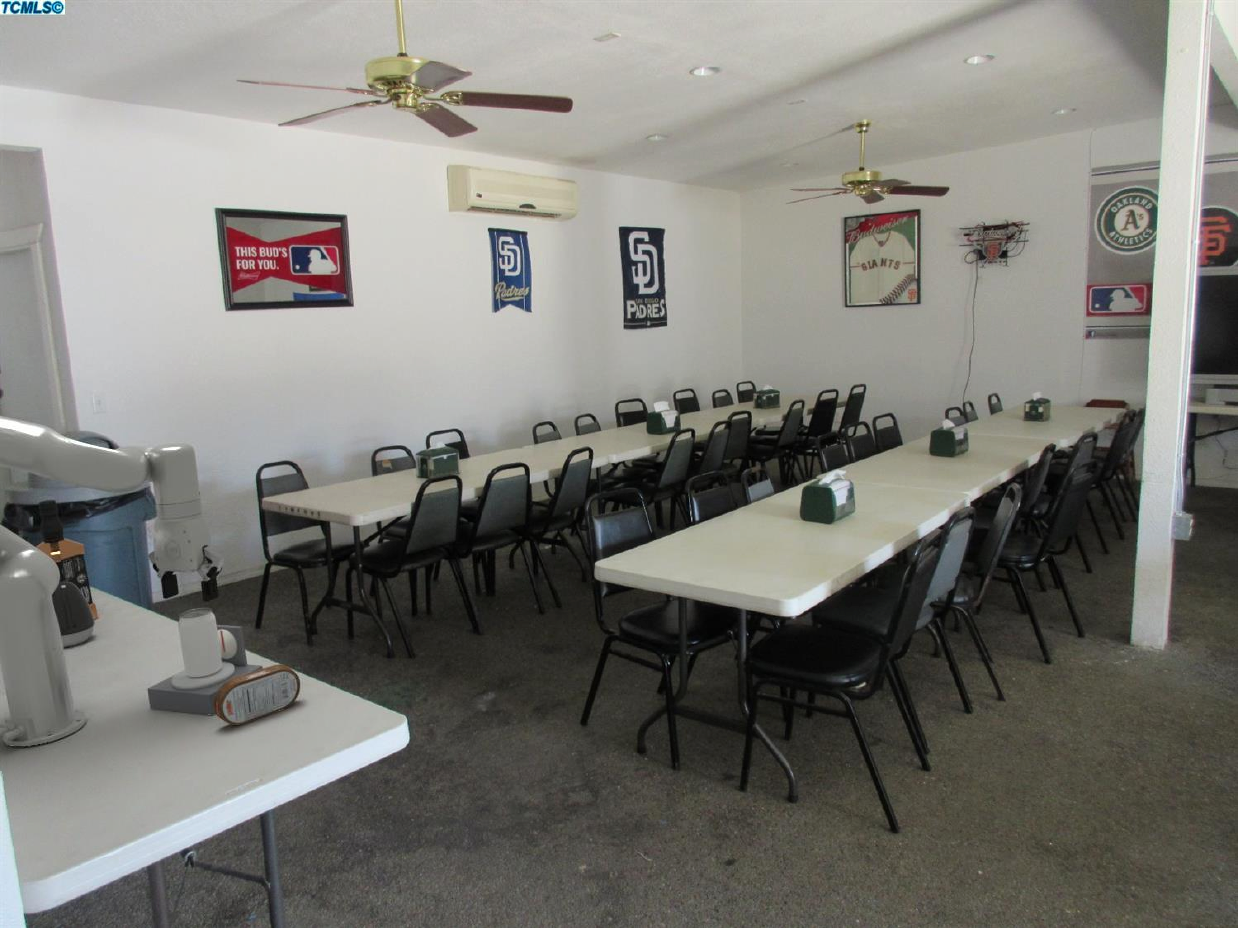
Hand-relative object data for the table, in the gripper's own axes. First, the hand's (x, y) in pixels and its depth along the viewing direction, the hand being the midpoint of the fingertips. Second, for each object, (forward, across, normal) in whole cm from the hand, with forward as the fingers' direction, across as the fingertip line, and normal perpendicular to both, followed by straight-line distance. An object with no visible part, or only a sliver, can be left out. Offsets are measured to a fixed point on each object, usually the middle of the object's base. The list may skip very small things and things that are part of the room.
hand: (191, 598), depth 163 cm
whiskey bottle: (+21, -74, +30) cm, 82 cm away
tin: (+20, +18, -4) cm, 27 cm away
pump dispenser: (+21, -59, +19) cm, 65 cm away
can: (+15, 0, 0) cm, 15 cm away
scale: (+20, +1, +1) cm, 20 cm away
